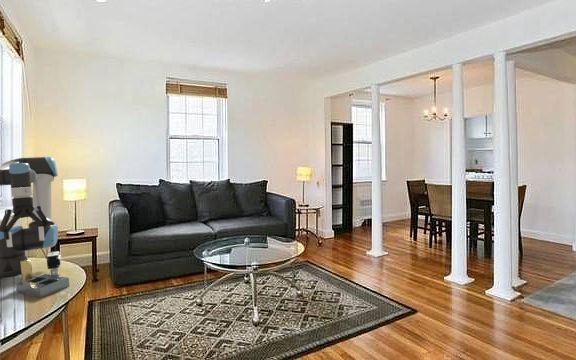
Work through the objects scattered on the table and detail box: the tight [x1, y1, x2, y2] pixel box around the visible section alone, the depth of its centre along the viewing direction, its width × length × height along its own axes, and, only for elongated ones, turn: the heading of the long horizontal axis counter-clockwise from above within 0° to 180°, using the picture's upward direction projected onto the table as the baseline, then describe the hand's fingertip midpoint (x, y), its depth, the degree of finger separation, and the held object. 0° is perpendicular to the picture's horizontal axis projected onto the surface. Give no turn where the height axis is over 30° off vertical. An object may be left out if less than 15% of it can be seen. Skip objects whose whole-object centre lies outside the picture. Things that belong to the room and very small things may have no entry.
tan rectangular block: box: [20, 258, 34, 282], centre depth 167 cm, size 4×4×12 cm
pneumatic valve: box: [46, 250, 63, 276], centre depth 180 cm, size 6×12×12 cm, turn 28°
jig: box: [15, 273, 70, 298], centre depth 162 cm, size 16×13×4 cm
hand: (26, 243), depth 164 cm, fingers open, 13 cm apart
